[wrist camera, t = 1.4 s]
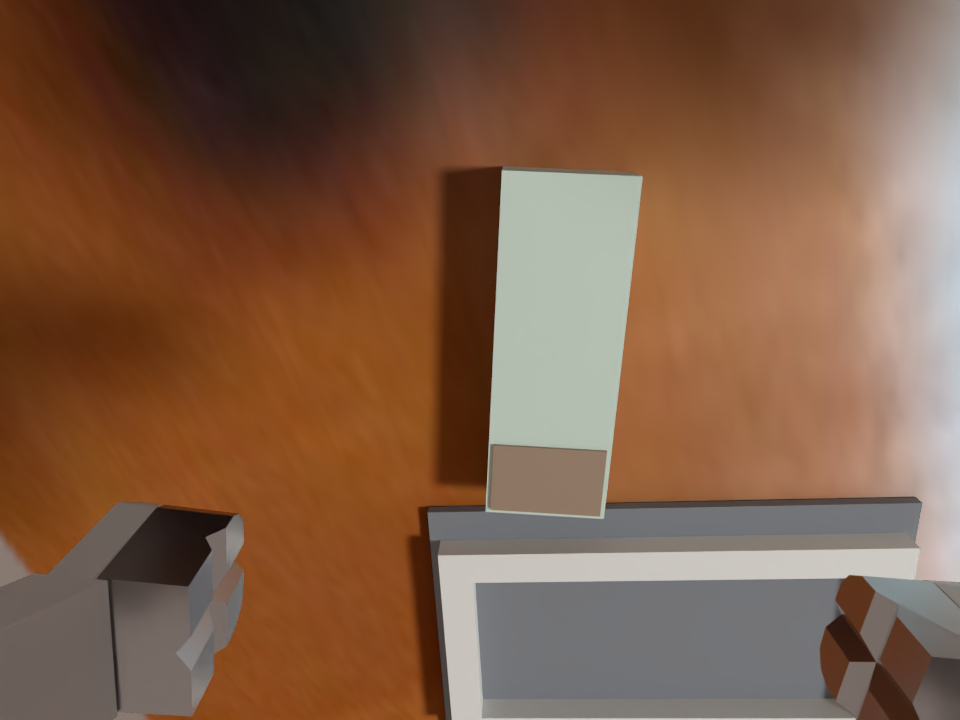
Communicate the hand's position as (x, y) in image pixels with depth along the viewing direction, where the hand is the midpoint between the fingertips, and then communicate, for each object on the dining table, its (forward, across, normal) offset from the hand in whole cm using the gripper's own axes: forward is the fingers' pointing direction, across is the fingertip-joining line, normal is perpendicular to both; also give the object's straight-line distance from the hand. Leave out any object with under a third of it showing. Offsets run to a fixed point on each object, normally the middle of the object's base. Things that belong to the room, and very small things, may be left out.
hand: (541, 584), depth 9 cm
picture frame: (+20, -10, +16) cm, 27 cm away
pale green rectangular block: (+20, -3, +2) cm, 21 cm away
